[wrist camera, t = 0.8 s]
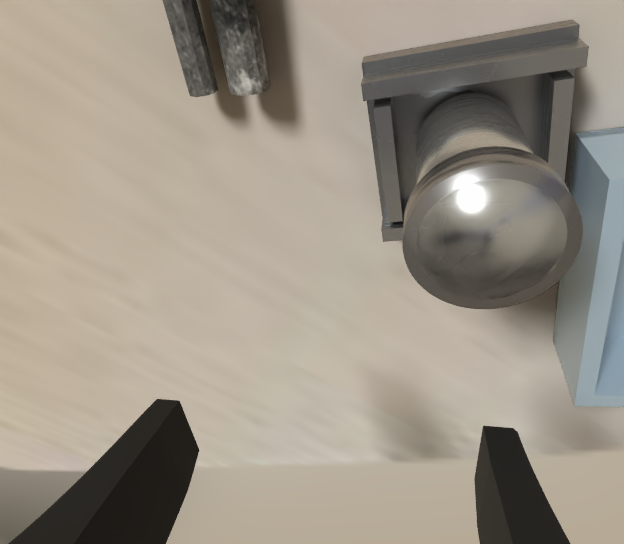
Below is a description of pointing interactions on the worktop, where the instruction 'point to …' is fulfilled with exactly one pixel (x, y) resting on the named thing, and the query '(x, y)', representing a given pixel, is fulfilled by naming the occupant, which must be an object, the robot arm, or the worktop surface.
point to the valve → (232, 41)
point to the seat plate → (466, 80)
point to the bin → (595, 275)
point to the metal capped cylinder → (486, 209)
